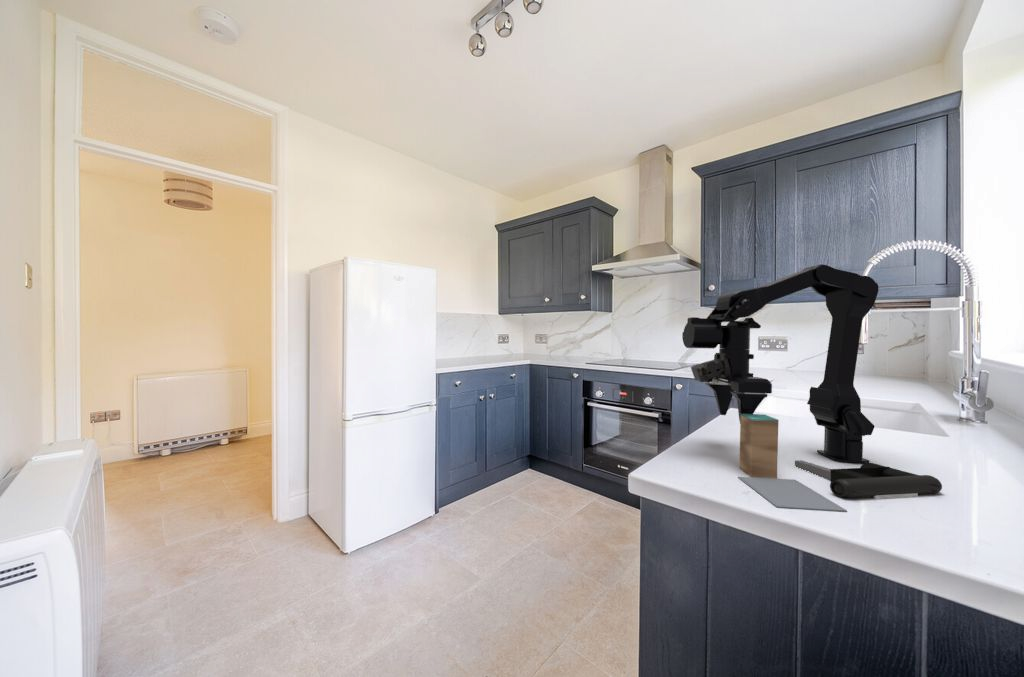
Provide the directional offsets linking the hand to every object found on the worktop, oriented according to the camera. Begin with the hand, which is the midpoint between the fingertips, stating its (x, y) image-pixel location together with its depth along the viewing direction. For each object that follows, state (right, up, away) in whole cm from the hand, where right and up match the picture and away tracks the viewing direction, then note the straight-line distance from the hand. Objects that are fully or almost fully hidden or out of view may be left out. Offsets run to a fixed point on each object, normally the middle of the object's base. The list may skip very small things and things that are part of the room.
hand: (732, 419), depth 82 cm
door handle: (+14, -9, -13) cm, 22 cm away
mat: (-2, -8, -19) cm, 21 cm away
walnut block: (-1, -8, -10) cm, 13 cm away
